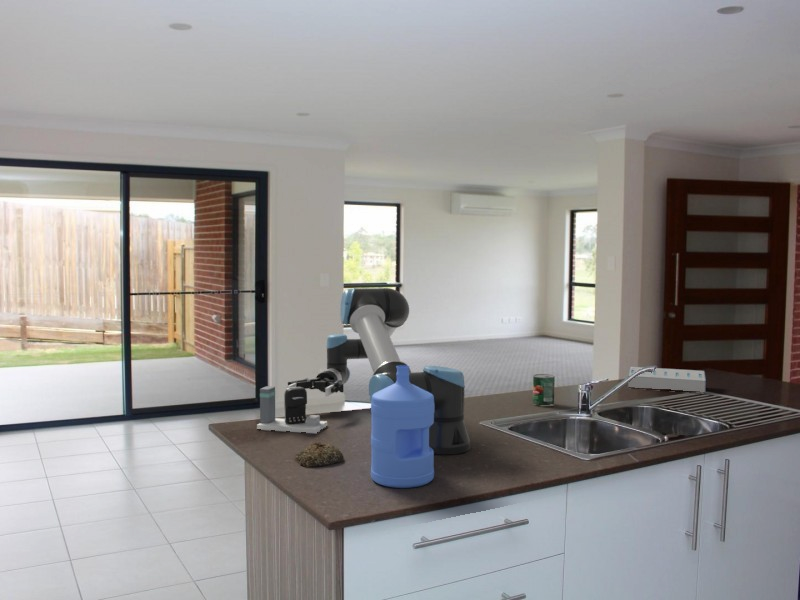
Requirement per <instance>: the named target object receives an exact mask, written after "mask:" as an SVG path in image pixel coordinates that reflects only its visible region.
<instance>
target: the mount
mask: <svg viewBox="0 0 800 600" xmlns="http://www.w3.org/2000/svg"><path fill="white" fill-rule="evenodd" d="M259 415H260V416H259V423H258V424H256V430H257V429H261V430H260V431H271V430H275V432H286V431H290V432H289V433H301V432H306V433H305V434H318V433H319V432H321V431H322V430H323V428H324V427H325V428H327V427H326V426H328V421H327V420H321V415H318V414H317V415H316V414H310V415H309V416H306V422H304V423H298V424H287V423H285V418H277V417H276V386H269V385H267V386H264V387H262V388H259ZM325 428H324V429H325ZM321 429H322V430H321ZM320 430H321V431H320ZM317 432H318V433H317Z"/></svg>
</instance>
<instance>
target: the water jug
mask: <svg viewBox="0 0 800 600" xmlns="http://www.w3.org/2000/svg"><path fill="white" fill-rule="evenodd" d="M396 368H397V373H396V375H397V381H396V383H395V384H393V385H390V386H388V387H386V388H384V389H382V390H380V391H378V392H376V393H374V394H373V395H372V402H371V401H370V413H371V435H370V447H371V456H370V457H371V465H370V466H371V468H370V477H371V479H372V480H373V482H375V483H377V484H378V485H380V486H384V487H388V488H395V489H396V488H397V489H398V488H399V489H410V488H417V487H422V486H425V485H427V484H429V483H431V482H432V481H433V479H434V478H435V468H434V463H435V462H434V460H435V459H434V456H435V454H434V451H433V449H432V448H430V447H429V428H430V426H431V425H432V424H433V423H434V408H435V405H434V396H433V395H432V394H431V393H429V392H427V391H425V390H423V389H421V388H419V387H417V386H415V385H413V384H411V383H410V382H409V368H410V365H408V366H405V365H400V366H396Z"/></svg>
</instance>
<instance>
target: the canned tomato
mask: <svg viewBox="0 0 800 600" xmlns="http://www.w3.org/2000/svg"><path fill="white" fill-rule="evenodd" d="M532 376H533V377H532V380H533V381H532V405H533V404H536V405H550V404H554V405H555V379H556V378H555V377H556V375H554V374H549V373H538V374H533V375H532Z"/></svg>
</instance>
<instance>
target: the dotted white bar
mask: <svg viewBox="0 0 800 600" xmlns="http://www.w3.org/2000/svg"><path fill="white" fill-rule="evenodd" d="M642 368H644V367H643V366H629V370H628V375H627V378H628V377H629V376H631V375H632V374H634V373H635V372H637V371H638V370H639V369H642ZM655 368H656V369H655V371H654V372H652V373H651V372H644V373H642V374H640V375H638V376H636V377H635V378H633V379H632V380H631V381H630V382H628V381H627V388H628V387H635V388H652V389H671V390H683V391H700V392H705V393H706V385H707V382H706V380H707V379H706V372H705V370H700V369H699V370H698V369H697V370H696V369H695V370H694V369H679V368H677V369H676V368H666V367H665V368H662V367H655Z"/></svg>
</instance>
